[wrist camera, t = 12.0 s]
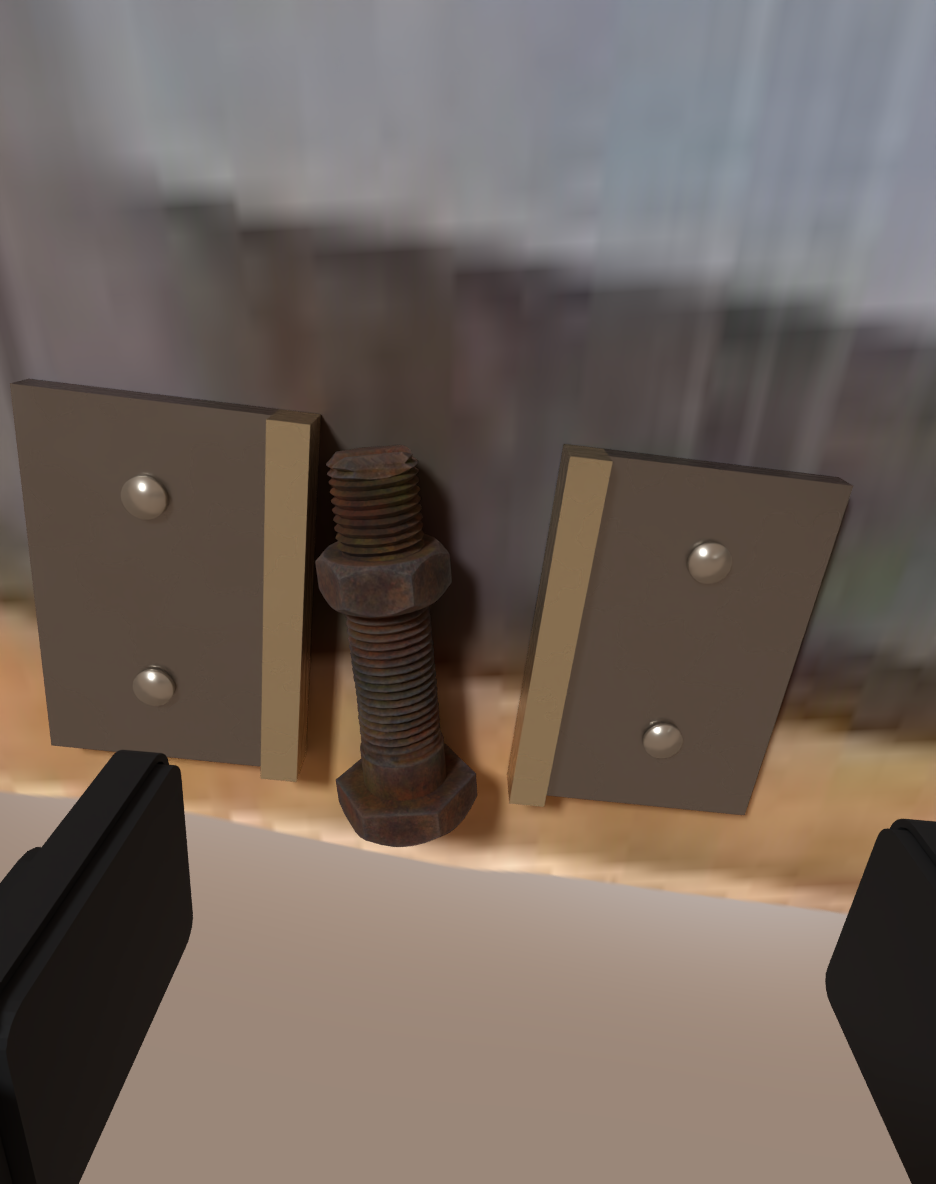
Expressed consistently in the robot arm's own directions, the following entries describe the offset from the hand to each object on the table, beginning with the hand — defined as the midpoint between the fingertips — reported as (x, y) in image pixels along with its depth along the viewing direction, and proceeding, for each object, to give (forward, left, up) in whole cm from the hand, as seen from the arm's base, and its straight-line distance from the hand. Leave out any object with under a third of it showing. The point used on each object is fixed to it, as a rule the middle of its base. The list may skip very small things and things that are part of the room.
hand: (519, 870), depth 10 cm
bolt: (+3, +6, -21) cm, 22 cm away
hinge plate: (+2, +6, -20) cm, 21 cm away
